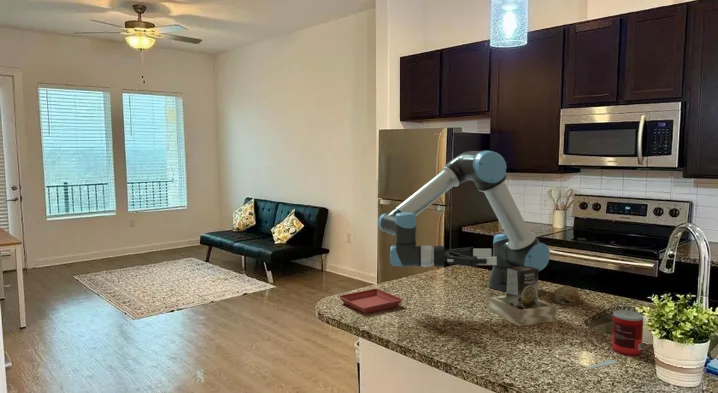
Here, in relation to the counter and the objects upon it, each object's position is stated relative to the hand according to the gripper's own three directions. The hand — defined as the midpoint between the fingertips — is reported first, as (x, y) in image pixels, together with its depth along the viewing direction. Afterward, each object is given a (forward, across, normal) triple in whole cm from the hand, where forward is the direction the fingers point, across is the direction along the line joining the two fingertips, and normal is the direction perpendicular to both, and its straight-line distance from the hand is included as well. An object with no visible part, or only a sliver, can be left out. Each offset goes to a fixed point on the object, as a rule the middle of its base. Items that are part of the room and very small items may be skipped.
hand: (493, 256), depth 174 cm
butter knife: (+18, +43, -21) cm, 52 cm away
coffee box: (+10, +1, -20) cm, 22 cm away
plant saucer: (-45, -5, -21) cm, 50 cm away
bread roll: (+30, -20, -22) cm, 42 cm away
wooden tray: (+10, +1, -21) cm, 23 cm away
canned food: (+34, +29, -22) cm, 49 cm away
